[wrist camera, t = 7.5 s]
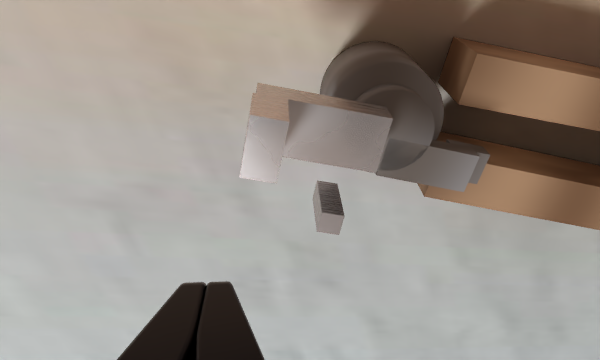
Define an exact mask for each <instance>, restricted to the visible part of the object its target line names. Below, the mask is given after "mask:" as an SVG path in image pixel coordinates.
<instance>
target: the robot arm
mask: <svg viewBox="0 0 600 360" xmlns="http://www.w3.org/2000/svg"><path fill="white" fill-rule="evenodd" d="M117 360H264V357H263V355H262V353H261V350H260V348H259V346H258V343H257V341H256V339H255V336H254V334H253V332H252V329H251V327H250V325H249V322H248V320H247V318H246V315H245V313H244V311H243V308H242V306H241V304H240V302H239V299H238V297H237V295H236V292H235V290H234V288H233V285H232V284H231V283H230V282H210V283H208V284H207V285H206V284H205V283H204V282H194V283H183V284H181V285H180V286H179V287H178V289H177V290H176V291H175V292H174V293H173V294H172V296H171V297H170V298H169V299H168V300H167V301H166V303H165V304H164V305H163V306H162V307H161V309H160V310H159V311H158V312H157V313H156V314H155V316H154V317H153V318H152V319H151V320H150V321H149V323H148V324H147V325H146V326H145V327H144V328H143V330H142V331H141V332H140V333H139V334H138V336H137V337H136V338H135V339H134V340H133V341H132V343H131V344H130V345H129V346H128V347H127V348H126V350H125V351H124V352H123V353H122V354H121V355H120V357H119V358H118V359H117Z"/></svg>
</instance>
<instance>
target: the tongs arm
mask: <svg viewBox="0 0 600 360" xmlns="http://www.w3.org/2000/svg"><path fill="white" fill-rule="evenodd" d="M355 101H358V102H363V103H369V104H374V105H380V106H385V107H387V109H388V111H389V112H390V114H391V116H392V118H393V120H392V123H391V127H390V130H389V133H388V136H387V139H386V143H385V146H384V149H383V152H382V155H381V159H380V162H379V165H378V168H377V171H376V175H378V176H383V177H389V178H394V179H399V180H404V181H409V182H414V183H417V184H418V185H419V187H420V189H421V191H422V193H423V195H424V197H430V198H435V199H440V200H445V201H451V202H456V203H461V204H466V205H471V206H477V207H482V208H487V209H492V210H498V211H503V212H508V213H513V214H518V215H524V216H529V217H534V218H539V219H545V220H550V221H555V222H560V223H565V224H571V225H576V226H581V227H586V228H592V229H597V230H600V166H599V165H594V164H590V163H585V162H580V161H576V160H571V159H566V158H562V157H557V156H552V155H547V154H543V153H538V152H533V151H529V150H524V149H519V148H515V147H510V146H505V145H501V144H496V143H491V142H486V141H482V140H477V139H472V138H468V137H463V136H458V135H454V134H449V133H444V132H440V133H439V136H438V138H437V140H432V139H433V135H434V127H435V124H434V118H433V114H432V112H431V110H430V108H429V107H428V105H427V104H426V103H425V101H424V100H423V99H422V98H421V96H420V95H419V94H418V93H417V92H415V91H414V90H412V89H411V88H409V87H407V86H404V85H400V84H383V85H378V86H376V87H373V88H371V89H369V90H367V91H366V92H364V93H363V94H362V95H360V96H359V97H358V98H357V99H356V100H355Z"/></svg>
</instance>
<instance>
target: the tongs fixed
mask: <svg viewBox="0 0 600 360" xmlns="http://www.w3.org/2000/svg"><path fill="white" fill-rule="evenodd" d="M438 83H439V84H440V86H441V87H442V88H443V89H444V90H445V91H446V92H447V93H448V94H449V95H450V96H451V97H452V98H453V99H454V100H455V101H456V102H457V103H458V104H460V105H465V106H470V107H475V108H480V109H486V110H491V111H496V112H501V113H507V114H512V115H517V116H522V117H528V118H533V119H538V120H543V121H549V122H554V123H559V124H564V125H570V126H575V127H580V128H585V129H590V130H596V131H600V68H599V67H595V66H590V65H585V64H580V63H575V62H571V61H566V60H561V59H556V58H552V57H547V56H542V55H537V54H533V53H528V52H523V51H518V50H514V49H509V48H504V47H499V46H495V45H490V44H485V43H480V42H475V41H471V40H466V39H461V38H456V37H453V40H452V43H451V46H450V49H449V52H448V55H447V57H446V60H445V63H444V66H443V69H442V72H441V75H440V78H439V81H438ZM383 84H400V85H404V86H407V87H409V88H411V89H412V90H414V91H415V92H417V93H418V94H419V95H420V96H421V98H422V99H423V100H424V101H425V103H426V104H427V105H428V107H429V108H430V110H431V112H432V114H433V118H434V124H435V127H434V135H433V139H432V140H437V138H438V136H439V133H440V131H441V128H442V124H443V118H444V107H443V101H442V97H441V94H440V92H439V90H438V88H437V86H436V85H435V83H434V82H433V81H432V80H431V79H430V78H429V77H428V75H427V74H426V73H425V72H424V71H423V70H422V69H421V68H420V67H419V66H418V65H417V64H416V63H415V62H414V60H413V59H412V58H411V57H410V56H409V55H408V54H407V53H406V52H404V51H403V50H402V49H400V48H398V47H397V46H394V45H392V44H389V43H385V42H364V43H360V44H357V45H355V46H352V47H350V48H348V49H347V50H345V51H343V52H342V53H341V54H339V55H338V56H337V57H336V58H335V59H334V60H333V62H332V63H331V64H330V65H329V67H328V69H327V70H326V72H325V74H324V77H323V80H322V83H321V89H320V95H326V96H331V97H337V98H342V99H347V100H353V101H355V100H356V99H357V98H358V97H359V96H360V95H362V94H363V93H364V92H366V91H367V90H369V89H371V88H373V87H376V86H378V85H383ZM367 172H369V171H367ZM374 173H375V172H374Z"/></svg>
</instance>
